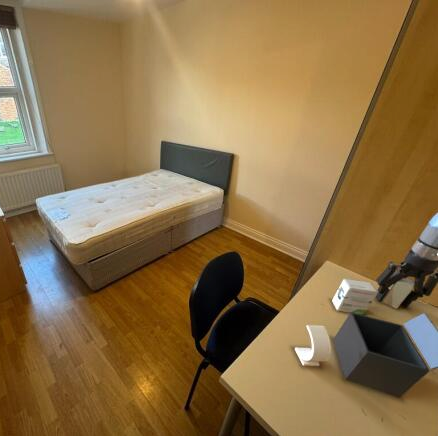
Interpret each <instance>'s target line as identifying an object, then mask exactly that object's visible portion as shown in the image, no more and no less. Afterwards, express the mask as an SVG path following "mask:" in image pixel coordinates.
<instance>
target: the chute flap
mask: <svg viewBox="0 0 438 436" xmlns="http://www.w3.org/2000/svg"><path fill="white" fill-rule="evenodd" d="M403 326H404V328H405V330H406V331H407V333H409V334H408V335H409V336H410V338H411V340H413V343H414V344H415V346H416V348H418V350H419V353H420V354H421V355H422V358H423V359H424V361H425V362H426V363H427V365H428V366H429V368H430V369H431V370H432V371H433V370H436V369H438V329H437V328H436V325H435V324H434V323H433V321H432V320H431V319H430V318H429V317H428V315H427V314H426V313H425V312H423V313H421V314H419V315H418V316H417V315H416V316H415V317H414V318H411V319H410V320H408V321H405V322H404V323H403Z"/></svg>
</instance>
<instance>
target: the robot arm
mask: <svg viewBox="0 0 438 436" xmlns="http://www.w3.org/2000/svg"><path fill="white" fill-rule="evenodd" d="M410 248H411V249H410V250H408V252H407V254H406V255H405V257H404V260H403V261H401V262H400V263H396V262H395V263H394V261H389V262H388V263H387V264H388V265H387V267H386V268H385V269H384V270H383V271H382V272H381V274H379V276H378V277H377V278H376V279H375V281H376V284H377V286H379V287H378V288H377V289H376V290H377V291H378V294H377V296H376V297H375V299H376V300H377V301H378V302H380V303H381V302H382V301H383V298H384V297H385V296H386V294H387V293H388V291H389V289H390V287H391V286H392V285H393V284H395V283H396V282H398V281H400V280H401V279H403V278H407V279H408V278H414V281H415V284H414V288H413V290H412V291H411V292H410V293H409V294H408V296H407V297H406V298H405V299H404V301H403V302H402V303H401V305H402V306H403V308H404V309H408V307H410V306H411V305H412V303H413V302H416V301H417V300H418V299H419V298H424V296H425V297H430V296H431V294H432V292H433V291H434V289H435V288H436V286H437V284H438V270H437V269H438V212H437V213H436V214H434V215H433V217H431V219H430V220H429V222H428V223H427V225H426V227H425V228H424V230H423V231H422V233H421V234H420V236H419V237H418V238H417V240H416V241H415V242H414V243H413V245H412V246H411V247H410ZM427 276H428V277H427ZM426 277H427V279H426ZM424 282H425V283H424Z"/></svg>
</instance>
